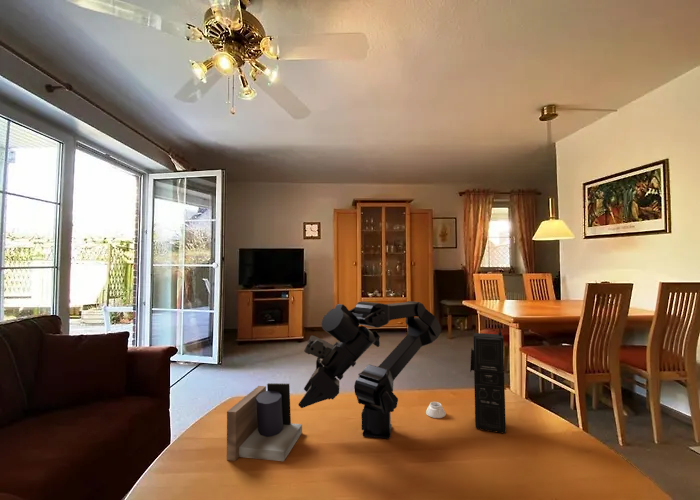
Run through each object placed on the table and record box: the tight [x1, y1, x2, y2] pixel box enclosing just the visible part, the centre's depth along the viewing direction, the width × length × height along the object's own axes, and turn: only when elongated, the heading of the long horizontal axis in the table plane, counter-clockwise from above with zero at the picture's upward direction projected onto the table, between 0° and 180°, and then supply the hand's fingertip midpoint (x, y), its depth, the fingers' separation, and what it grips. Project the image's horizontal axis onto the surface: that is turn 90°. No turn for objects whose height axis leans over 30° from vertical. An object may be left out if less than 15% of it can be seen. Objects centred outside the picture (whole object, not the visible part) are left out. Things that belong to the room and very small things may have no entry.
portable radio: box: [469, 325, 507, 434], centre depth 85 cm, size 8×6×25 cm
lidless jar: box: [425, 401, 446, 419], centre depth 91 cm, size 5×3×5 cm
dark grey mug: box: [256, 383, 292, 437], centre depth 79 cm, size 8×6×10 cm
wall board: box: [226, 385, 303, 462], centre depth 77 cm, size 12×15×10 cm
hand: (302, 397), depth 78 cm, fingers open, 9 cm apart
